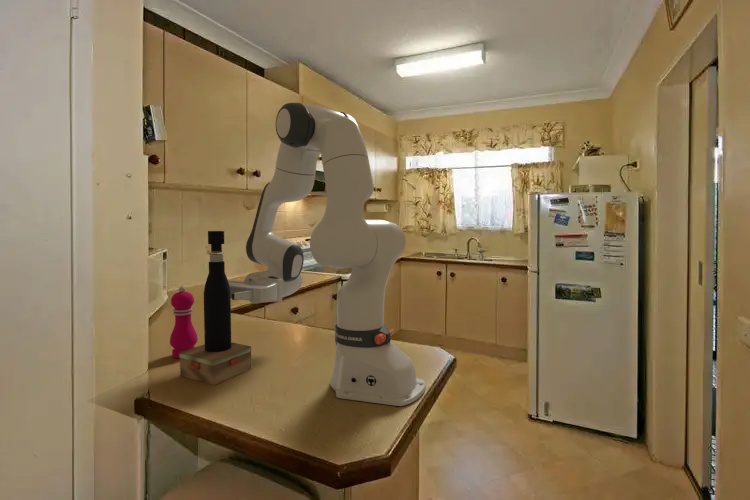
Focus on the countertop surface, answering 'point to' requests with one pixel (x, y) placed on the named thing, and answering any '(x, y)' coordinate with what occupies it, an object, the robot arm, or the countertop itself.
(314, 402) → the countertop surface
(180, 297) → the pepper mill
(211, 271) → the black bottle
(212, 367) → the wooden box
